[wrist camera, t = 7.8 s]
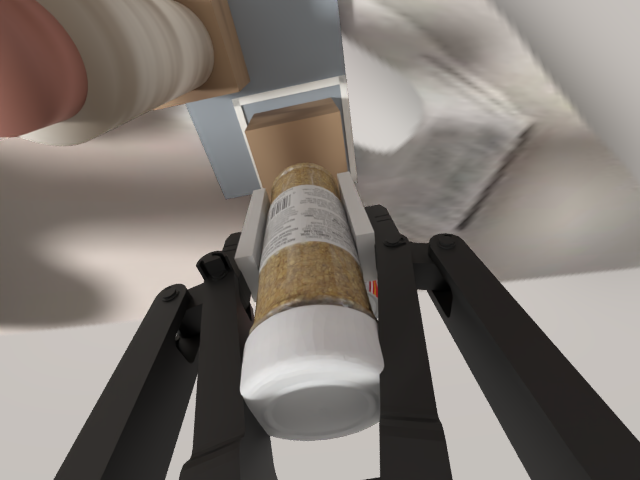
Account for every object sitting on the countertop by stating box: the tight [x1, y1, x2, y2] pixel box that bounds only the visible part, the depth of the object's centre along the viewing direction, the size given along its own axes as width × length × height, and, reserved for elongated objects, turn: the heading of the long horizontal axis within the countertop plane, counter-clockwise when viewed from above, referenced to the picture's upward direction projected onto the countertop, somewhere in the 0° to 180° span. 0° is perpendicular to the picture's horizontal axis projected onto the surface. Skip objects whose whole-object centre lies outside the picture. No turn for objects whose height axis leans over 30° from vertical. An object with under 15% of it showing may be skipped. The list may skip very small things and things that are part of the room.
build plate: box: [186, 0, 358, 199], centre depth 26 cm, size 14×17×1 cm
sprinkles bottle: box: [240, 163, 384, 441], centre depth 13 cm, size 5×5×14 cm
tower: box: [0, 0, 250, 146], centre depth 14 cm, size 6×6×20 cm
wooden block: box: [244, 98, 348, 204], centre depth 25 cm, size 7×7×6 cm
